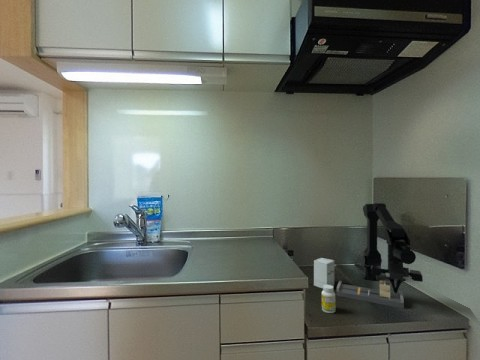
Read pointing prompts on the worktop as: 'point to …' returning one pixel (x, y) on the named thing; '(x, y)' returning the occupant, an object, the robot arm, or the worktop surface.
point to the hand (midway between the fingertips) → (395, 292)
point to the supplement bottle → (328, 299)
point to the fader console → (369, 295)
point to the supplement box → (323, 272)
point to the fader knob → (385, 289)
